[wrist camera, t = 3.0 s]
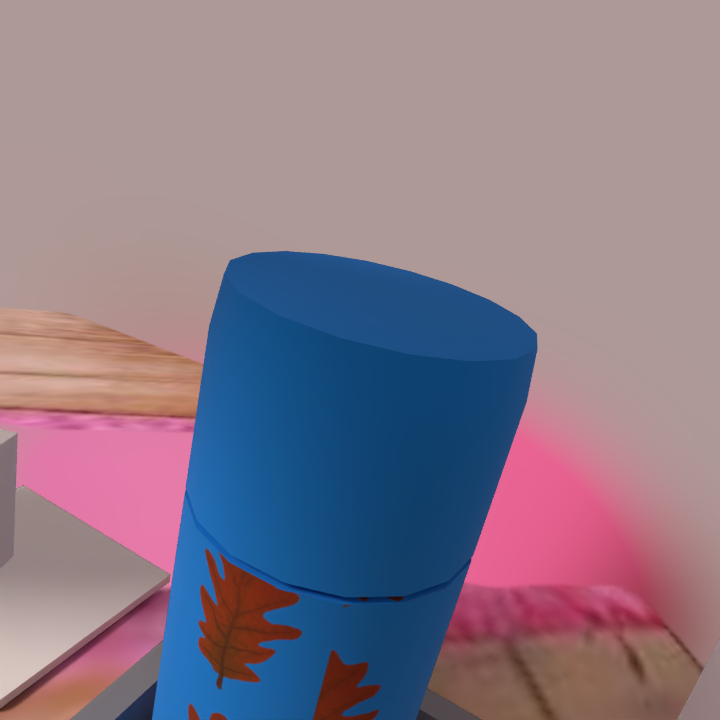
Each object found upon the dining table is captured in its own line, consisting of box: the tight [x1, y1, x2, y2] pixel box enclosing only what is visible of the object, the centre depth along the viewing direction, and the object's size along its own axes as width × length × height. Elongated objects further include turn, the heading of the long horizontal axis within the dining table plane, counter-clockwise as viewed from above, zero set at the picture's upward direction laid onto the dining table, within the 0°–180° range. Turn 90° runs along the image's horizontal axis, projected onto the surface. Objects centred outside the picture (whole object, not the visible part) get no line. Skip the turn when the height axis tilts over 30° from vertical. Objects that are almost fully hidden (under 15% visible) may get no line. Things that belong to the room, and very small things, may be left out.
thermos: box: [152, 251, 537, 720], centre depth 25 cm, size 11×11×25 cm
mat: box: [0, 485, 170, 708], centre depth 38 cm, size 14×12×1 cm
